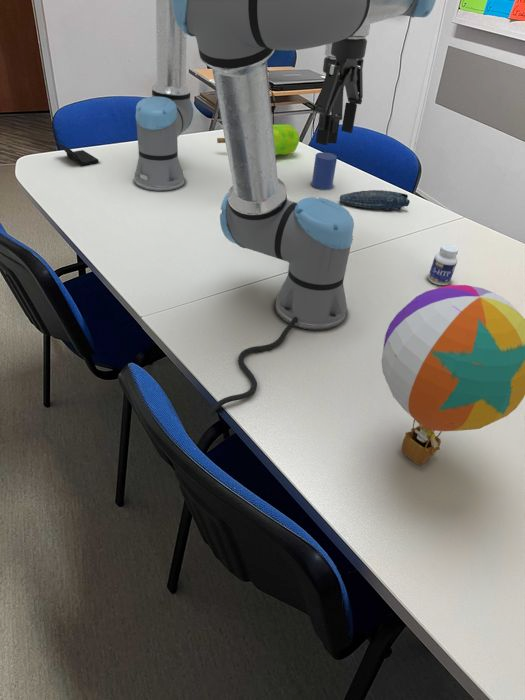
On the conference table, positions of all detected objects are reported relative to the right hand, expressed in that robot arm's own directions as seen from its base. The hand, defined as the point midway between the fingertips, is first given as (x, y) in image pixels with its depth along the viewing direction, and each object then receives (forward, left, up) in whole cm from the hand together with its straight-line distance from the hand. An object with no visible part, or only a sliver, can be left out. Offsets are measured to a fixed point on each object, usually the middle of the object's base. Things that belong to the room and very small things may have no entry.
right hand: (334, 137), depth 126 cm
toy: (-74, -20, -26) cm, 81 cm away
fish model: (+25, -15, -26) cm, 39 cm away
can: (+37, +2, -26) cm, 45 cm away
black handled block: (+31, +83, -26) cm, 92 cm away
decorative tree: (+59, +27, -26) cm, 70 cm away
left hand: (+35, +2, -10) cm, 36 cm away
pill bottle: (-16, -30, -26) cm, 43 cm away
